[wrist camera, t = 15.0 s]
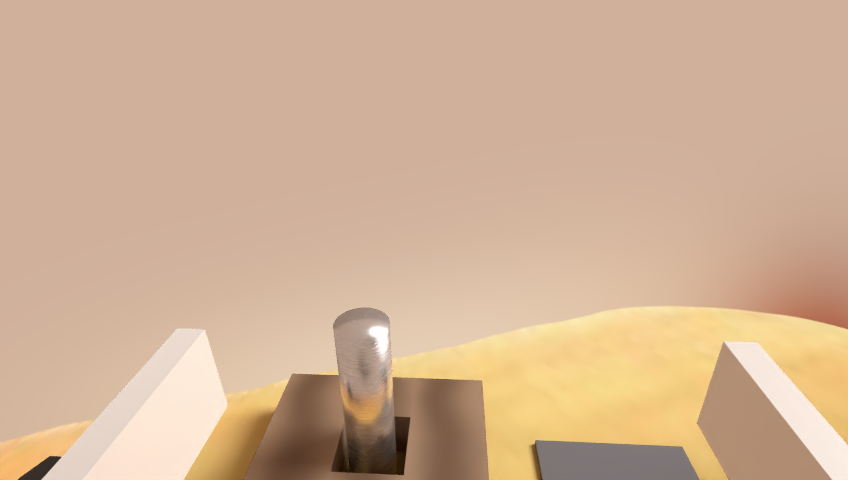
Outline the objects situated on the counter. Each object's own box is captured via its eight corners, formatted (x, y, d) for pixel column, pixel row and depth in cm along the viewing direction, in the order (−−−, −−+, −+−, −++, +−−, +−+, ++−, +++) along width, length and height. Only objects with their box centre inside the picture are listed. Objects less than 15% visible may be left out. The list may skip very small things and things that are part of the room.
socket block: (480, 414, 42) (482, 380, 40) (490, 583, 29) (493, 545, 28) (298, 406, 43) (292, 373, 41) (232, 567, 31) (220, 529, 29)
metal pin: (399, 460, 38) (392, 308, 31) (394, 501, 34) (385, 342, 28) (356, 458, 38) (340, 306, 31) (347, 499, 35) (327, 340, 28)
